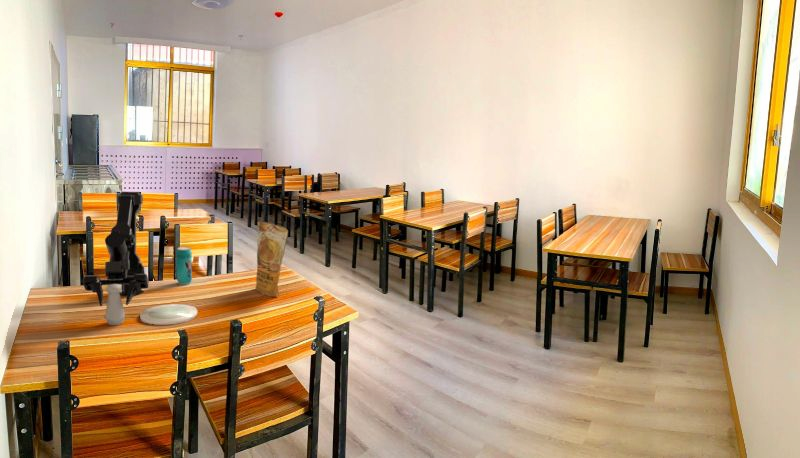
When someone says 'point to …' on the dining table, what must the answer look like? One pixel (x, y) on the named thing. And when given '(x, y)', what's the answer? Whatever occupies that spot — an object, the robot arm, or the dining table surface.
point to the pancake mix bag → (269, 257)
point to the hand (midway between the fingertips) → (113, 305)
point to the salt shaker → (114, 305)
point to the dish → (168, 314)
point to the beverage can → (184, 265)
